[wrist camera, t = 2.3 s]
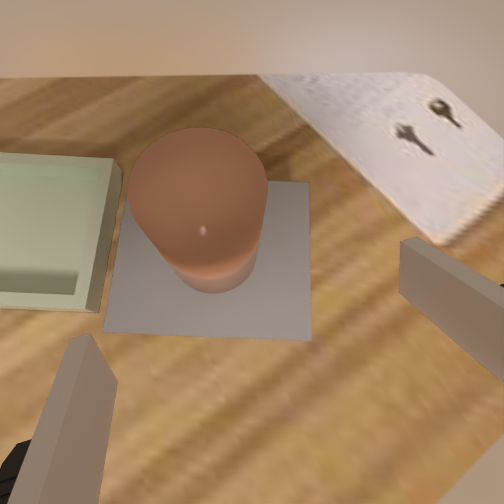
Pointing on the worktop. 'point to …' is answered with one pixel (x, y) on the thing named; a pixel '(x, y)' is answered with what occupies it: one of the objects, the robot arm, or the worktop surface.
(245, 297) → the grey square plinth
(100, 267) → the tray
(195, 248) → the terracotta domed cylinder
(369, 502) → the worktop surface
